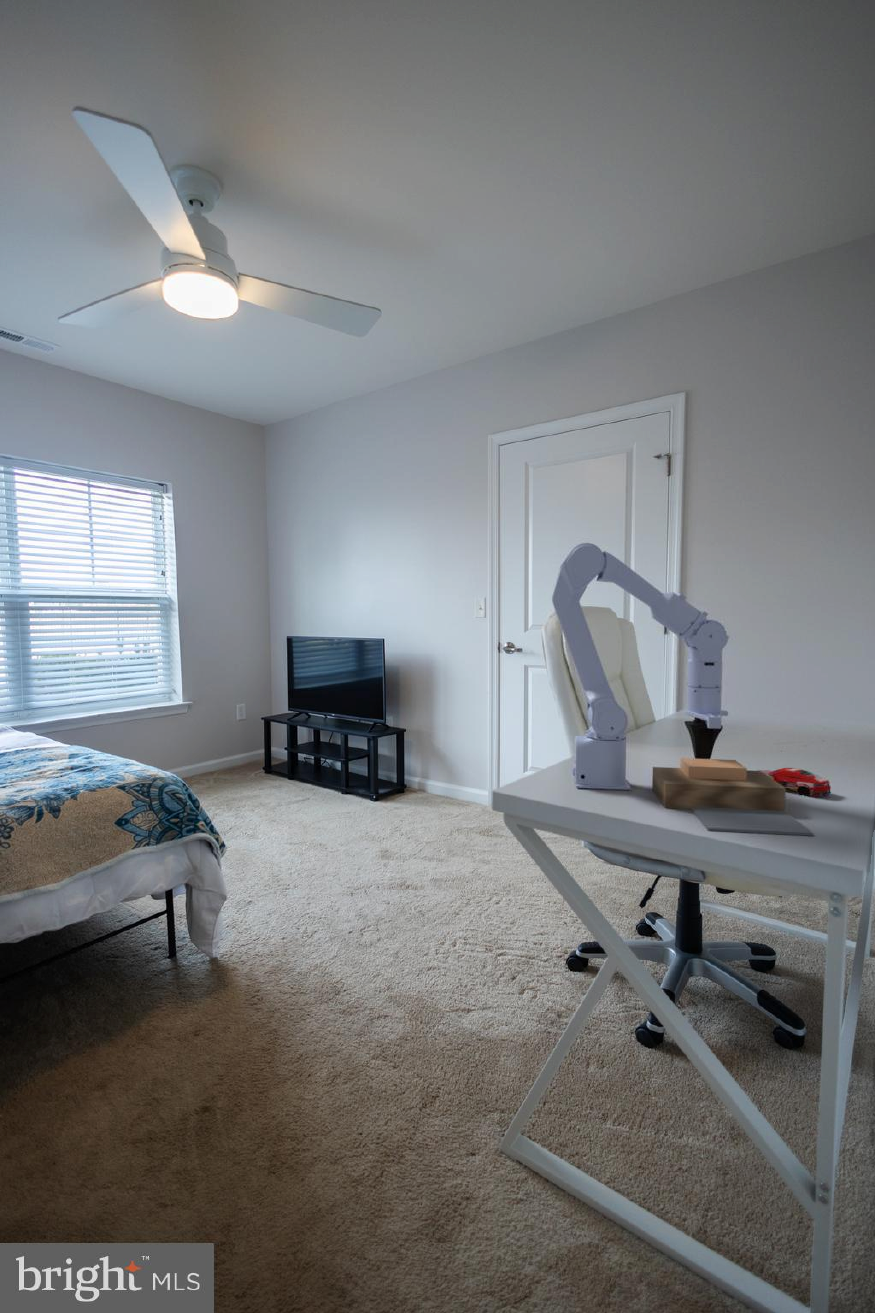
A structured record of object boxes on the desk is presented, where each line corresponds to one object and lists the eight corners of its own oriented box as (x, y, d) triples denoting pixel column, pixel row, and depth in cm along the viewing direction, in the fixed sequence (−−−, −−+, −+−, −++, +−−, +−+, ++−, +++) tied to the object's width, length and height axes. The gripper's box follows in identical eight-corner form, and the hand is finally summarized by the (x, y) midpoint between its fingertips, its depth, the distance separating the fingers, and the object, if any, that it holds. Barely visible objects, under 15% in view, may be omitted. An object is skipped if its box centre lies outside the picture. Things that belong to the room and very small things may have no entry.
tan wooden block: (688, 778, 101) (688, 766, 101) (680, 769, 107) (680, 758, 107) (746, 780, 100) (746, 768, 100) (734, 771, 106) (735, 760, 106)
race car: (742, 785, 113) (742, 764, 113) (755, 780, 116) (756, 759, 116) (821, 801, 102) (822, 778, 102) (833, 796, 106) (834, 773, 106)
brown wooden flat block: (664, 807, 99) (665, 783, 98) (652, 789, 109) (652, 767, 109) (784, 813, 96) (785, 788, 95) (759, 793, 106) (760, 770, 106)
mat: (707, 830, 88) (707, 827, 88) (690, 809, 98) (690, 806, 98) (813, 835, 86) (813, 833, 86) (784, 813, 96) (784, 810, 96)
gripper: (741, 691, 101) (739, 772, 102) (716, 682, 116) (714, 753, 116) (696, 690, 102) (694, 770, 103) (677, 681, 117) (675, 751, 118)
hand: (702, 761), depth 110 cm, fingers closed
